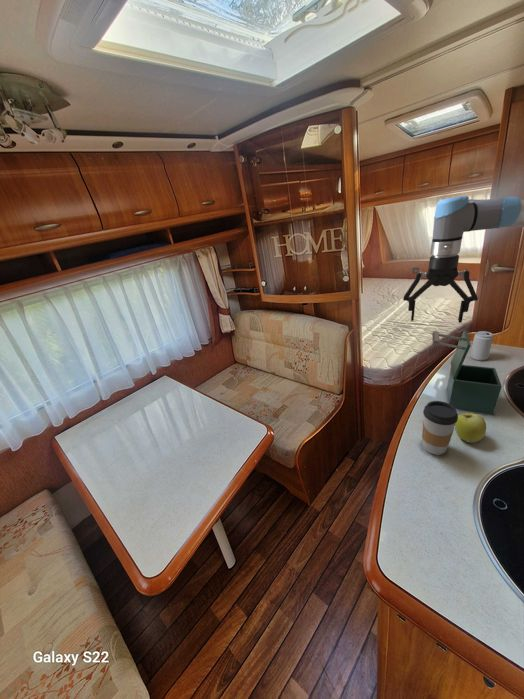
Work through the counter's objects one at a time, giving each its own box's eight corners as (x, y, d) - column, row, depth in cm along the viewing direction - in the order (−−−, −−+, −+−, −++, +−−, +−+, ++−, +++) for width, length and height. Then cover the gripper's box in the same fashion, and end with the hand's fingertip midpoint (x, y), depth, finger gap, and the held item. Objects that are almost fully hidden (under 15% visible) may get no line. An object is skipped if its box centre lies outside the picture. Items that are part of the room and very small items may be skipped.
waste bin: (487, 395, 100) (495, 368, 95) (493, 415, 91) (501, 386, 86) (446, 389, 106) (451, 363, 101) (448, 407, 97) (453, 380, 92)
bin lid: (466, 330, 93) (434, 324, 97) (470, 345, 85) (435, 338, 89) (453, 362, 100) (423, 356, 104) (455, 379, 91) (422, 371, 95)
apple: (494, 443, 80) (490, 419, 76) (464, 449, 83) (458, 425, 79) (479, 425, 87) (475, 401, 83) (452, 430, 89) (446, 408, 86)
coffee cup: (419, 434, 88) (424, 397, 82) (449, 441, 84) (458, 403, 78) (417, 453, 82) (423, 414, 76) (450, 461, 78) (460, 422, 71)
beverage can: (490, 361, 118) (497, 336, 113) (474, 361, 120) (479, 337, 114) (483, 354, 124) (488, 330, 118) (467, 354, 125) (472, 331, 120)
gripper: (397, 260, 85) (393, 322, 95) (500, 254, 73) (483, 326, 83) (399, 255, 91) (395, 315, 100) (494, 249, 79) (480, 317, 88)
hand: (435, 320), depth 91 cm, fingers open, 13 cm apart
